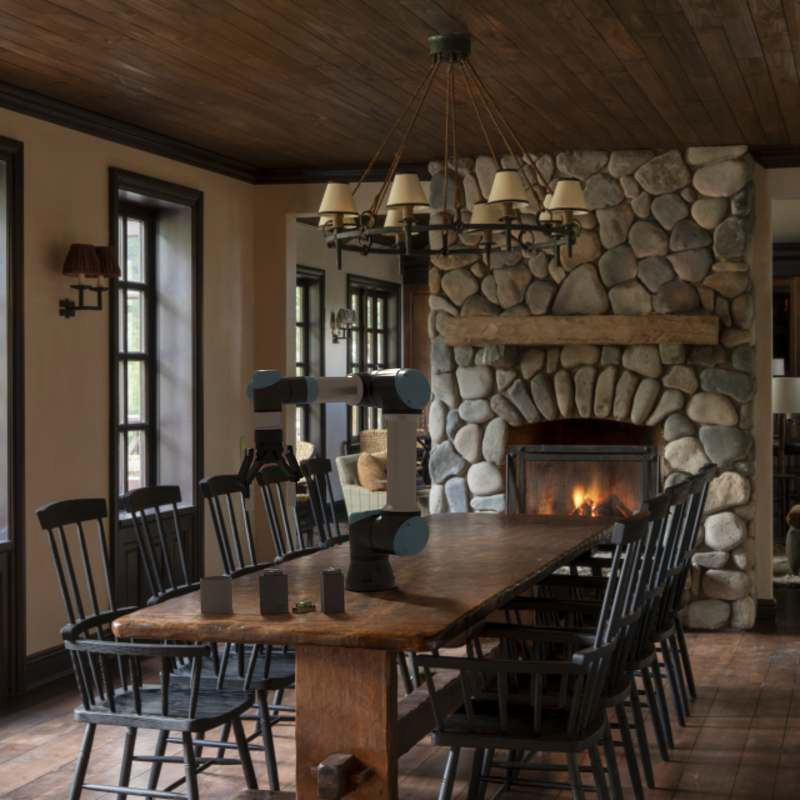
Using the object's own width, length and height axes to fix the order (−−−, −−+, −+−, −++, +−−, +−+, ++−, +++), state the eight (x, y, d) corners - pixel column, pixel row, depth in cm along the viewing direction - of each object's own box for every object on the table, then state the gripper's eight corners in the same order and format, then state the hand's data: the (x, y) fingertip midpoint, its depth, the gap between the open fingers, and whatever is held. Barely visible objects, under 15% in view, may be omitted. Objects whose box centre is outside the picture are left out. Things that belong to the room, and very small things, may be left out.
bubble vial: (310, 609, 348) (310, 600, 348) (315, 610, 346) (315, 601, 346) (292, 613, 344) (291, 603, 344) (297, 614, 342) (297, 604, 342)
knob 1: (288, 611, 346) (287, 568, 346) (277, 614, 341) (275, 571, 341) (271, 609, 349) (270, 567, 348) (260, 613, 344) (258, 570, 344)
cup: (234, 611, 354) (232, 575, 354) (231, 617, 346) (230, 580, 345) (202, 613, 354) (201, 576, 353) (199, 618, 345) (198, 581, 345)
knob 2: (320, 610, 346) (319, 567, 345) (340, 608, 347) (339, 566, 347) (324, 613, 340) (323, 570, 340) (344, 612, 342) (343, 569, 341)
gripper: (298, 425, 355) (300, 503, 355) (220, 430, 338) (223, 512, 339) (314, 426, 349) (317, 505, 350) (236, 431, 333) (239, 513, 333)
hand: (271, 508), depth 344 cm, fingers open, 13 cm apart
